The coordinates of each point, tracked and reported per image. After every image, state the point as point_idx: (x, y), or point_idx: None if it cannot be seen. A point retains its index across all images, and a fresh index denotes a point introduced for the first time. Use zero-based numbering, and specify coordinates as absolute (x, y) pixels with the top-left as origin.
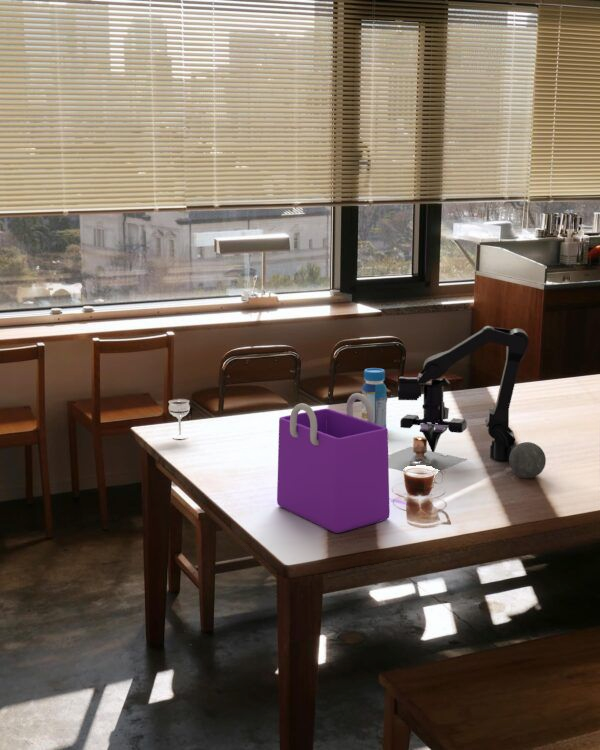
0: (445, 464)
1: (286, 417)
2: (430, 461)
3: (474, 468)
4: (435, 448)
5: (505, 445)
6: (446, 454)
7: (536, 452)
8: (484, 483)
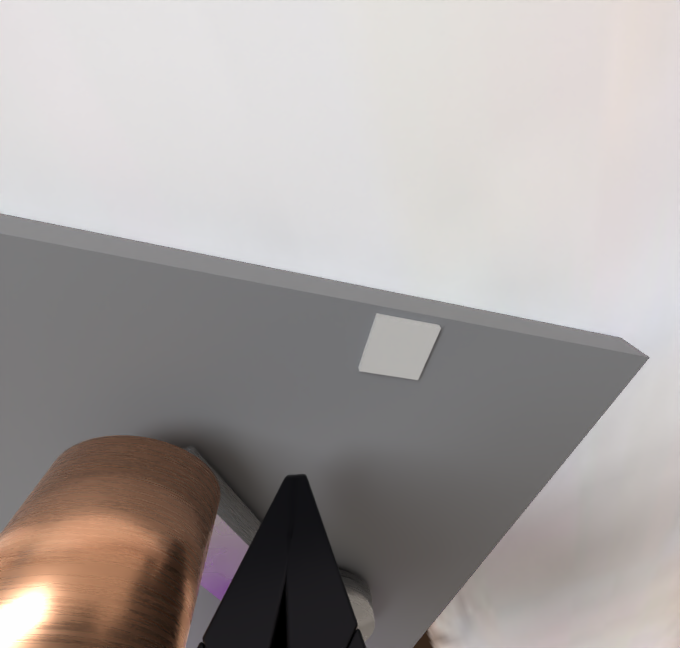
0: (459, 529)
1: None
2: (365, 610)
3: (665, 435)
4: (315, 503)
5: None
6: (414, 331)
7: None
8: (675, 578)
